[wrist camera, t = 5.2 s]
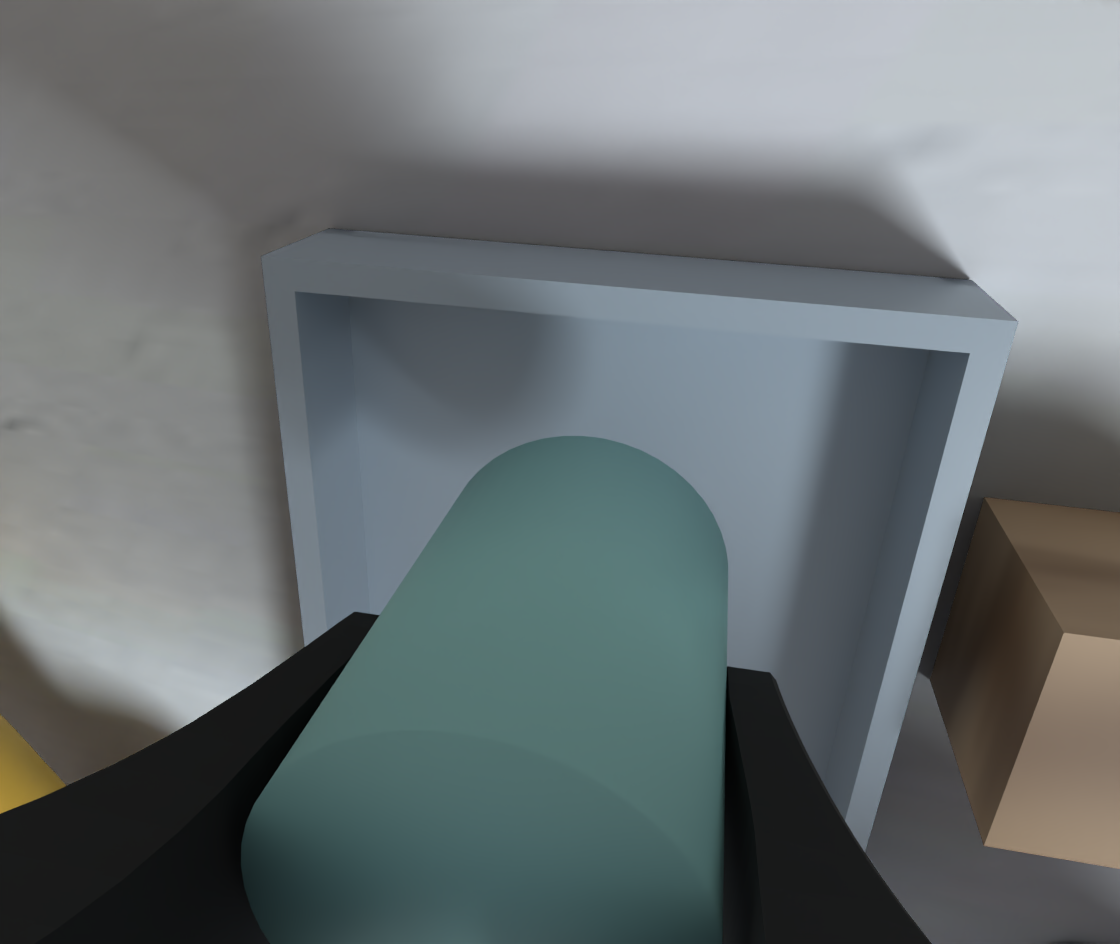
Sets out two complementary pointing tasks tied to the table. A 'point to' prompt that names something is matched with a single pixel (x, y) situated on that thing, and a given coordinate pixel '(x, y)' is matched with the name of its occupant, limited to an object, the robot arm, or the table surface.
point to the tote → (654, 436)
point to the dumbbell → (22, 771)
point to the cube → (1038, 680)
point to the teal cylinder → (520, 727)
